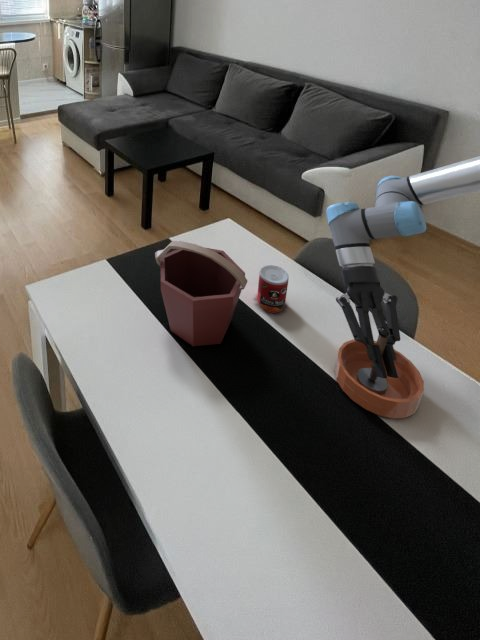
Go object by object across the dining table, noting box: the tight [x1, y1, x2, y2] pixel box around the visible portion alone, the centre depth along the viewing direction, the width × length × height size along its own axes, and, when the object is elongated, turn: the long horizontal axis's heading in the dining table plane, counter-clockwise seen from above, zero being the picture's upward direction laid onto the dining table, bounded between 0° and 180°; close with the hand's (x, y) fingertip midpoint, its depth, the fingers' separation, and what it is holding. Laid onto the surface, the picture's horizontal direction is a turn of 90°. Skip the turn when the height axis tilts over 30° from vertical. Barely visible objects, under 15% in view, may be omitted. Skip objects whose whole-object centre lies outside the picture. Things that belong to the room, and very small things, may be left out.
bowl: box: [334, 338, 425, 419], centre depth 100 cm, size 16×16×6 cm
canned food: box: [256, 264, 290, 314], centre depth 125 cm, size 8×8×11 cm
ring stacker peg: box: [357, 327, 390, 394], centre depth 98 cm, size 6×6×17 cm
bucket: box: [154, 240, 248, 347], centre depth 118 cm, size 24×22×25 cm
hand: (387, 377), depth 95 cm, fingers closed on ring stacker peg, 2 cm apart
